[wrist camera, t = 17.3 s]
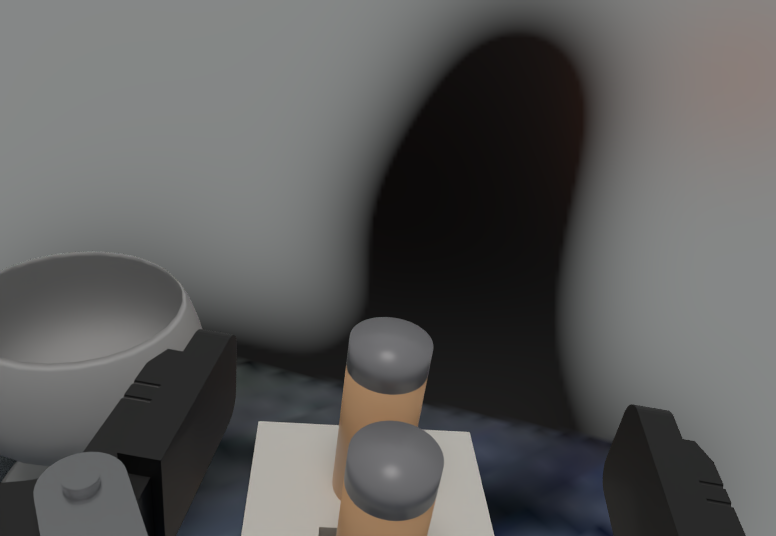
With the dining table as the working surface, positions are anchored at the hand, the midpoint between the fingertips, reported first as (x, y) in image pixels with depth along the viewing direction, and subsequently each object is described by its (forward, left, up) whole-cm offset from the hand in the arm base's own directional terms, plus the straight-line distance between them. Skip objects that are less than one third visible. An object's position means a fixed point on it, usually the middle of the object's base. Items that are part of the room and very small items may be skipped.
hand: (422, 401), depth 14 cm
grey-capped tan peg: (+3, +15, -28) cm, 32 cm away
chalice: (-15, +22, -28) cm, 39 cm away
